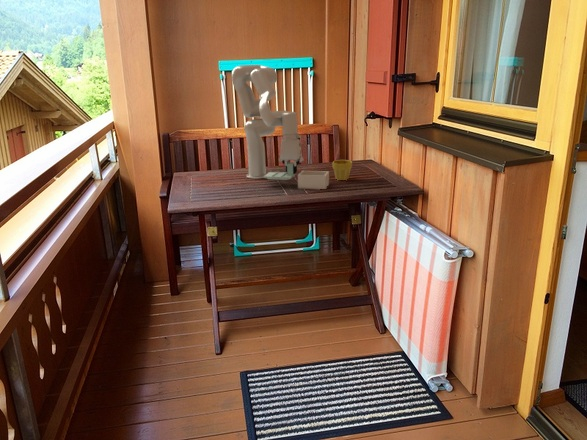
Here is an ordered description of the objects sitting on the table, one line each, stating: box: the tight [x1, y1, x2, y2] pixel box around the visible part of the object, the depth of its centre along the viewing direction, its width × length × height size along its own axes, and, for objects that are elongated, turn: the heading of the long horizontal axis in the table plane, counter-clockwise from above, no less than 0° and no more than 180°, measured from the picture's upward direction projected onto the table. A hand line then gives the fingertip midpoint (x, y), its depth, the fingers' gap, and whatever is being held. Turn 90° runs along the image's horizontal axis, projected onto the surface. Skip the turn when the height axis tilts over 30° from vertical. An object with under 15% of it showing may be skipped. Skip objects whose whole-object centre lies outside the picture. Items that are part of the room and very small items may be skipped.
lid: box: [263, 161, 296, 181], centre depth 236 cm, size 10×15×8 cm
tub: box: [297, 170, 330, 190], centre depth 233 cm, size 10×14×7 cm
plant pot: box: [331, 159, 353, 181], centre depth 245 cm, size 10×10×10 cm
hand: (291, 173), depth 235 cm, fingers closed on lid, 2 cm apart
